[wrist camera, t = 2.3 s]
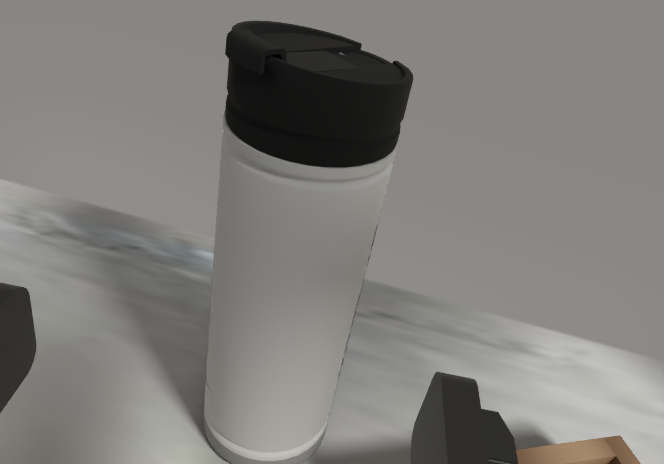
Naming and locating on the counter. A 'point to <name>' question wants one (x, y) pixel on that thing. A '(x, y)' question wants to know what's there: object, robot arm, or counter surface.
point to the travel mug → (293, 231)
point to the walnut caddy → (580, 453)
